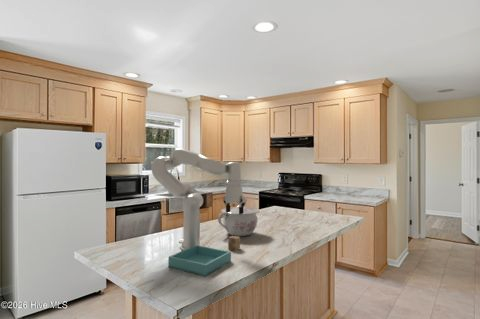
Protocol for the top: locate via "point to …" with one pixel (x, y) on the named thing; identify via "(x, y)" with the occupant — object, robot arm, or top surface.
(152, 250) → the top surface
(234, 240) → the walnut block
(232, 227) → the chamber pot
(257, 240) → the top surface
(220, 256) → the bin
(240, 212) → the robot arm
